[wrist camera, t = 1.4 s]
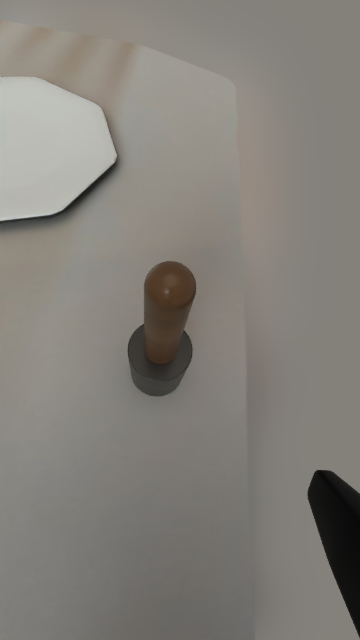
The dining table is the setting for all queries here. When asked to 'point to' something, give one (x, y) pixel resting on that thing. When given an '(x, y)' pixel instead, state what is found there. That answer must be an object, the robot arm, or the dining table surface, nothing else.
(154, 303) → the coffee tamper
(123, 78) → the dining table surface
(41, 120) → the plate
